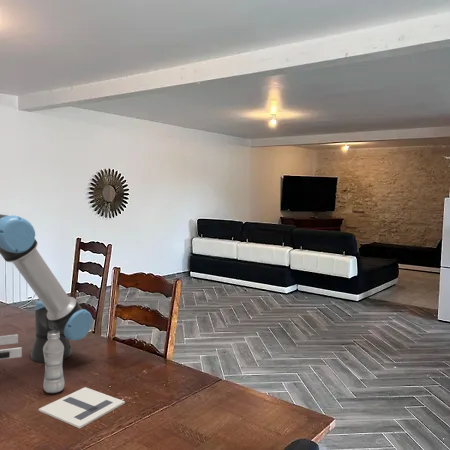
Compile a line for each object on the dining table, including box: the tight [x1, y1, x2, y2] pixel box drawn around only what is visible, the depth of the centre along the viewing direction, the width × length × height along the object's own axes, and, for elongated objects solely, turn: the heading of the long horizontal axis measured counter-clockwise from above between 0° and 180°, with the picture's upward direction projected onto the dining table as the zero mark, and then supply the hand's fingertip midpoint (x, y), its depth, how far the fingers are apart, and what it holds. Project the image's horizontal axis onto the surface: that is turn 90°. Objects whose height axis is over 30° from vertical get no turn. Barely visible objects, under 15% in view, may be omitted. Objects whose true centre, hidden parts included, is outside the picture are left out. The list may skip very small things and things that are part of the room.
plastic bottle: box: [42, 331, 65, 394], centre depth 146 cm, size 6×7×20 cm
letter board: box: [38, 386, 126, 430], centre depth 137 cm, size 18×18×1 cm
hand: (19, 344), depth 141 cm, fingers open, 13 cm apart
